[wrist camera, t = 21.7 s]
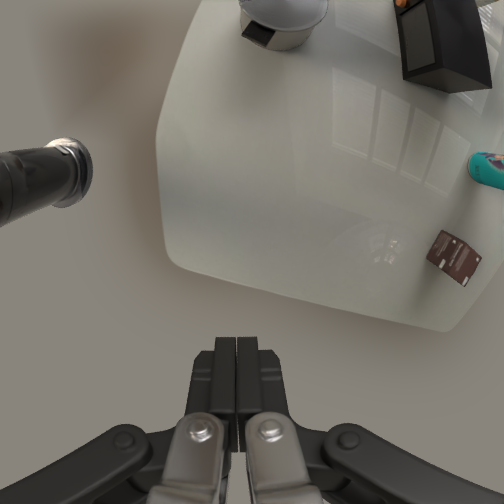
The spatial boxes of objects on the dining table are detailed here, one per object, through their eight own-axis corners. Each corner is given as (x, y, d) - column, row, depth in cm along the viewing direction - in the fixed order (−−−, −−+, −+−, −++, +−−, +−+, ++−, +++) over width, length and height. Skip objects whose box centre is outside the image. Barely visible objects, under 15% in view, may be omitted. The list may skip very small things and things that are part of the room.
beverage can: (477, 144, 38) (537, 154, 24) (487, 170, 39) (545, 186, 25) (461, 161, 39) (523, 175, 25) (472, 187, 40) (531, 207, 26)
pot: (285, 75, 34) (296, 58, 27) (217, 42, 32) (212, 19, 24) (329, 8, 30) (347, -16, 22) (267, -22, 28) (272, -51, 20)
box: (441, 228, 43) (466, 241, 36) (458, 243, 44) (483, 257, 37) (424, 257, 45) (448, 274, 38) (442, 270, 46) (465, 288, 39)
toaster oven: (396, 78, 34) (437, 65, 24) (387, -3, 29) (418, -29, 19) (449, 93, 35) (492, 88, 24) (439, 16, 29) (475, -1, 19)
